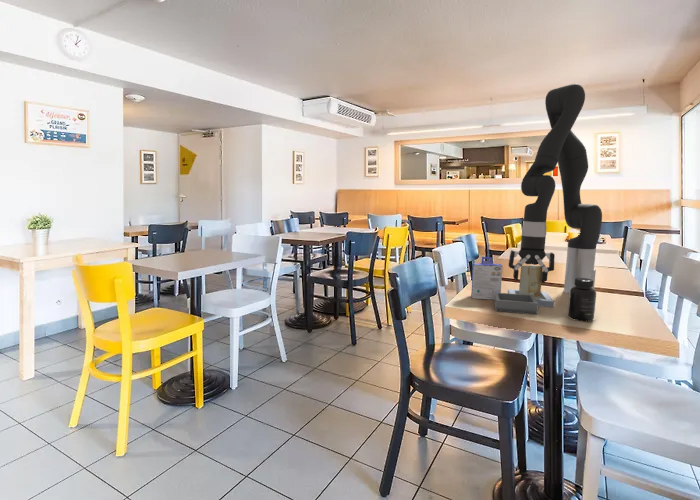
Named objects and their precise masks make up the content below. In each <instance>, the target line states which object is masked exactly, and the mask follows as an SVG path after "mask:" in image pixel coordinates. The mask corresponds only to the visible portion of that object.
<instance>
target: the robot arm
mask: <svg viewBox="0 0 700 500" xmlns="http://www.w3.org/2000/svg"><path fill="white" fill-rule="evenodd" d="M585 100H586V92H585V89H584V88H583V86H582V85H581V84H579V83H572V84H571V83H570V84H568V85H564V86H561V87H555V88H553V89H550V90H549V91H548V92H547V94H546V96H545V102H544V103H545V110H546V114H547V117H548V121H549V122H548V123H549V124H550V131H548V133H546V135H545V136H544V138H543V139H542V141H541V142H540V144H539V146H538V149H537V152H536V155H535V157H534V158H535V159H534V161H533V163H532V164H531V165H530V167H529V169H528V170H527V172H526V173H525V175H524V176H523V178H522V181H521V185H520V190H521V193H522V194H523V195H524V196H526V197H536V198H537V199H536V200H535V202H532V203H528V204H526V205H525V207H524V212H523V213H524V214H523V215H524V216H523V223H522V229H521V236H520V238H521V240H520V248H519V250H510V251H509V259H508V267H509V268H510V269H512V270H513V279H514V280H515V282H517V281H518V280H519V269H521V266H524V265H525V264H526V265H536V266H537V265H538V266H541V267H542V269H543V271H542V282H541V284H545V283H546V282H547V281H548V274H549V273H550V272H552V271H554V270H555V253H554V252H553V251H552V252H545V251H546V250H545V249H546V240H547V239H546V238H547V237H546V236H547V215H548V209H549V207H550V204H551V201H552V199H553V196H554V193H555V191H556V181H555V179H554V177H552V176H551V175H547V173H550V172H553V171H555V169H556V167H557V165H558V170H559V175H560V180H561V181H560V182H561V189H562V196H563V199H562V200H563V211H564V212H563V213H564V221H565V224H566V225H567V226H568V227H569V228H571V229H577V230H578V229H579V230H580V232H579V234H578V235H577V236H574V237H572V238H569V239H568V240H567V250H566V262H565V272H564V273H565V275H564V284H563V292H564V293H565V294H568V295H570V290H571V288H572V287H574V286H575V285H574V283H575V278H588V279H592V280H594V282H593V285H594V286H593V287H592V288H593V289H594V290H595V283H596V282H595V281H596V275H597V274H596V272H597V270H596V269H595V263H596V262H595V261H596V251H597V244H598V242H599V240H600V234H601V230H602V229H601V227H602V221H603V212H602V209H601V207H600V206H599V205H598V204H592V203H590V204H588V203H582V199H581V187H582V184H583V182H584V180H585V178H586V176H587V173H588V170H589V161H588V160H589V159H588V154H587V149H586V146H585V145H584V144H583V142H582V141H581V139H579V137H577V135H576V134H575V132H573V130H572V128H573V127H574V124H575V123H576V120H577V119H578V117H579V115H580V113H581V111H582V109H583V107H584V105H585ZM545 174H546V175H545ZM517 256H519V257H520V259H519V260H517V263H516V264H514V260H515V258H516V257H517ZM545 258H547V260H548V266H547V267H546V265H545V264H544V262H543V260H544V259H545Z"/></svg>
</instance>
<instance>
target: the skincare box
mask: <svg viewBox="0 0 700 500" xmlns="http://www.w3.org/2000/svg"><path fill="white" fill-rule="evenodd" d="M542 271H543V269H542V267H541V266H540V265H537V264H536V265H533V264H526V265H525V264H524V265H522V266H521V267H520V274H519V286H518V290H519V294H525V295H533V296H534V298H535V299H541V298H540V294H541V290H542Z"/></svg>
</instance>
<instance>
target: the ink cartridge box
mask: <svg viewBox="0 0 700 500" xmlns="http://www.w3.org/2000/svg"><path fill="white" fill-rule="evenodd" d="M502 276H503V265H502V264H501V263H493V257H491V256H481V263H480V262H472V270H471V293H470V298H471V299H476V300H477V299H478V300H491V301H492V300H493V301H494V293H495V292H497V293H502V280H503V279H502V278H503V277H502Z"/></svg>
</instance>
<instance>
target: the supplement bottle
mask: <svg viewBox="0 0 700 500" xmlns="http://www.w3.org/2000/svg"><path fill="white" fill-rule="evenodd" d="M593 282H594V280H592V279H588V278H575V283H574V285H575V286H574V287H572V288H571V290H570V294H569V297H568V299H569V302H568V311H567V315H568V316H567V317H569V318H570V319H571V320H574V321H579V322H591V321H594V319H595V310H596V302H597V291H596V289H595V288H594V289H593V288H592V287H593V286H594V287H595V284H594V285H593Z"/></svg>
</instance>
